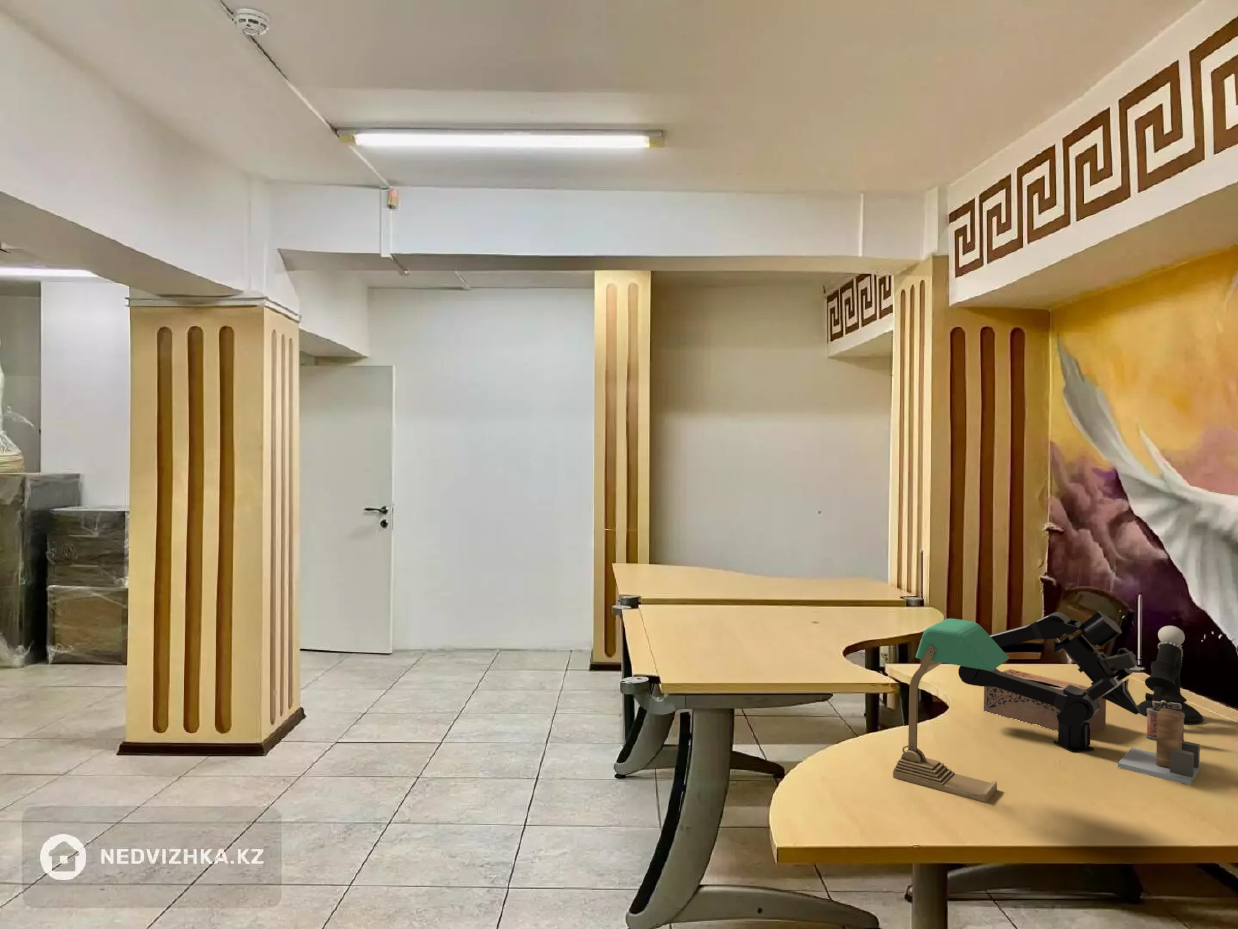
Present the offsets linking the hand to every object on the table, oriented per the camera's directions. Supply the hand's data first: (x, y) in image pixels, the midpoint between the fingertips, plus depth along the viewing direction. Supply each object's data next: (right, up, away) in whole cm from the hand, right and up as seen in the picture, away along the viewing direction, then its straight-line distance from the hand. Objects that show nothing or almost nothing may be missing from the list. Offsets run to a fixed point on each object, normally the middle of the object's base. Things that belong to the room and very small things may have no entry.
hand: (1138, 713), depth 186 cm
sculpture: (+29, -12, +32) cm, 45 cm away
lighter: (+17, -12, +15) cm, 25 cm away
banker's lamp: (-51, -11, -14) cm, 54 cm away
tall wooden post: (+4, -10, -4) cm, 12 cm away
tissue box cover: (-6, -12, +31) cm, 33 cm away
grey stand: (+3, -12, -3) cm, 12 cm away
